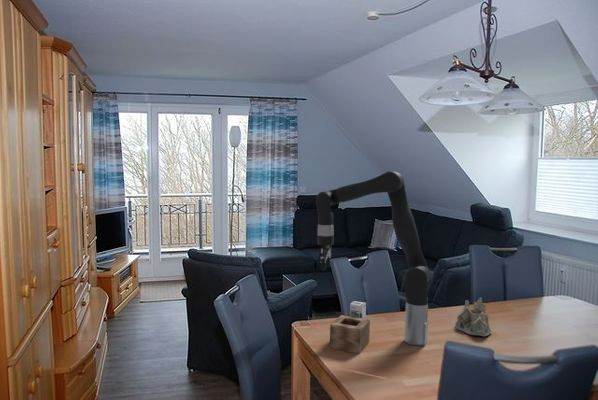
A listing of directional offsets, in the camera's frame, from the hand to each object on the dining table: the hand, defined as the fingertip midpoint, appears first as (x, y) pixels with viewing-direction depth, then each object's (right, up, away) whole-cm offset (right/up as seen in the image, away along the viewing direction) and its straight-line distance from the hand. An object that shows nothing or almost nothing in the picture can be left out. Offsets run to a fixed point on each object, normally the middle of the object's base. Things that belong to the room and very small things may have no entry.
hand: (325, 268), depth 210 cm
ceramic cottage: (+68, -29, -2) cm, 74 cm away
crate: (+9, -29, -20) cm, 37 cm away
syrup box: (+14, -29, -8) cm, 33 cm away
